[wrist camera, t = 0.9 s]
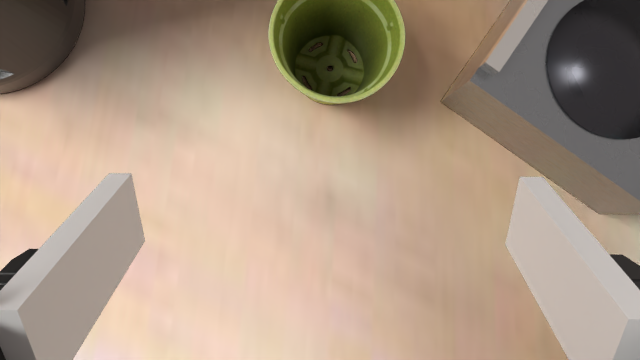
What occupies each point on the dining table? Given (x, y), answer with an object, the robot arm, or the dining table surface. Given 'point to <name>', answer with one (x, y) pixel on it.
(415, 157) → the dining table surface
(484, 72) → the gray open-top box
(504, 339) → the dining table surface
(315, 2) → the plant pot
